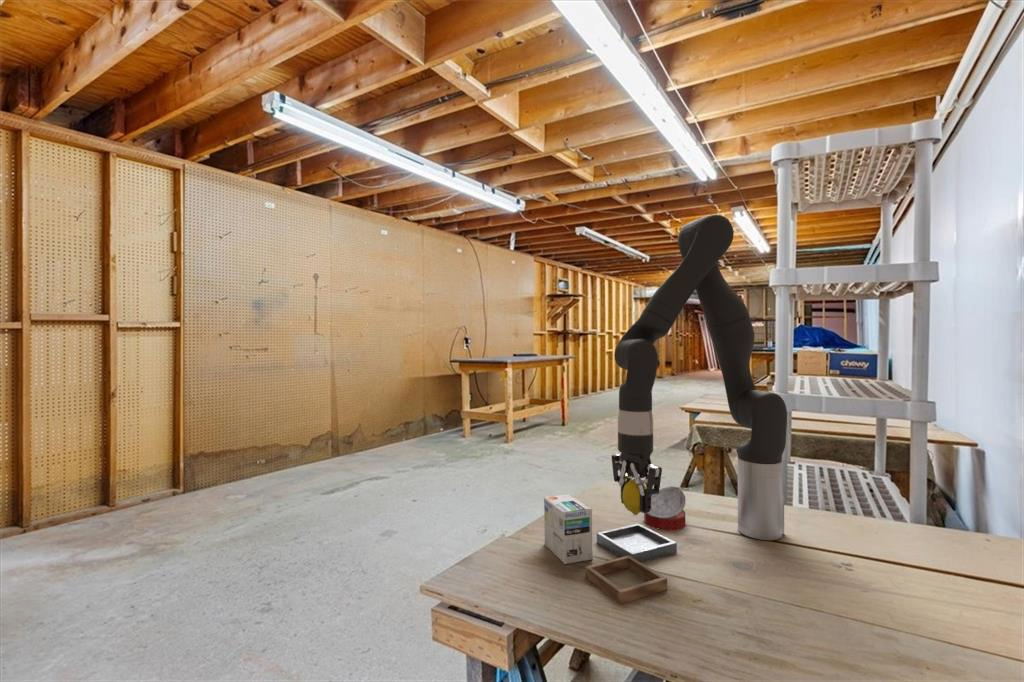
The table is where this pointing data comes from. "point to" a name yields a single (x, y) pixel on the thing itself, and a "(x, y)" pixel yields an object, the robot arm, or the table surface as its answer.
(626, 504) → the lemon
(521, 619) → the table surface
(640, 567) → the holder
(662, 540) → the tray
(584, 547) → the light bulb box
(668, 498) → the canned food
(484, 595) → the table surface
